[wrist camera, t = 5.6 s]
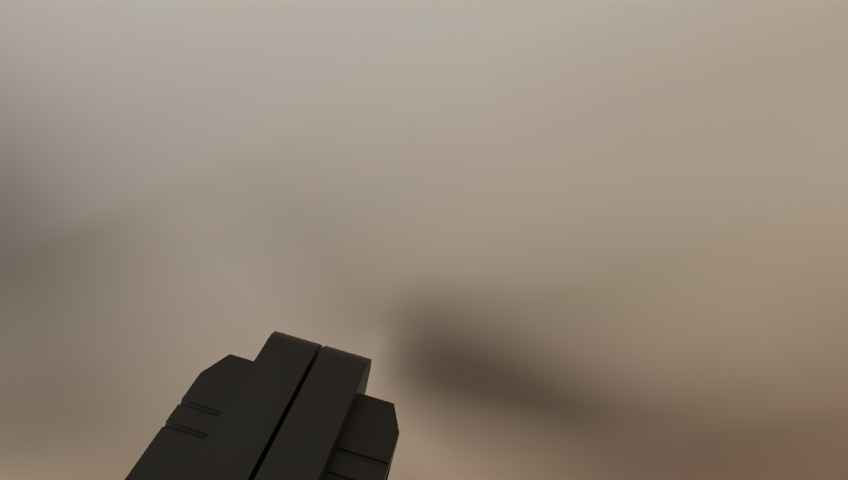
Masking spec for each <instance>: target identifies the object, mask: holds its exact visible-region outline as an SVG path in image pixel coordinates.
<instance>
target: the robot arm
mask: <svg viewBox="0 0 848 480" xmlns="http://www.w3.org/2000/svg"><path fill="white" fill-rule="evenodd" d="M370 368H371V359H368V358H365V357H361V356H358V355H355V354H351V353H348V352H345V351H341V350H338V349H335V348H331V347H328V346H324V347H323V348H322V345H320V344H317V343H314V342H310V341H307V340H304V339H300V338H297V337H294V336H290V335H287V334H284V333H280V332H277V331H275V332H273V333H272V334H271V336H270V337H269V339H268V340H267V342H266V343H265V345H264V347H263V348H262V350H261V351H260V353H259V354H258V356H257V358H256V359H255V361H250V360H247V359H244V358H241V357H237V356H234V355H231V354H230V355H228V356H226V357H225V358H223V359H222V360H220V361H219V362H217V363H215V364H214V365H212V366H211V367H209V368H208V369H206V370H204V371H203V372H201V373H200V374H199V376H198V377H197V379H196V380H195V382H194V383H193V384H192V386H191V387H190V389H189V390H188V391H187V393H186V394H185V396H184V397H183V398H182V401H181V404H180V405H178V406H177V407H176V408H175V410H174V411H173V413H172V414H171V415H170V417H169V418H168V420H167V421H166V425H165V427H162V428H161V429H160V431H159V432H158V434H157V435H156V437H155V438H154V439H153V441H152V442H151V444H150V445H149V446H148V448H147V449H146V451H145V452H144V453H143V455H142V456H141V458H140V459H139V461H138V462H137V463H136V465H135V466H134V468H133V469H132V470H131V472H130V473H129V475H128V476H127V477H126V479H125V480H387V478H388V475H389V471H390V467H391V463H392V459H393V455H394V451H395V448H396V444H397V440H398V436H399V430H398V424H397V419H396V413H395V408H394V404H393V403H390V402H387V401H383V400H380V399H377V398H373V397H370V396H367V395H365V391H366V386H367V382H368V377H369V372H370Z"/></svg>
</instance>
